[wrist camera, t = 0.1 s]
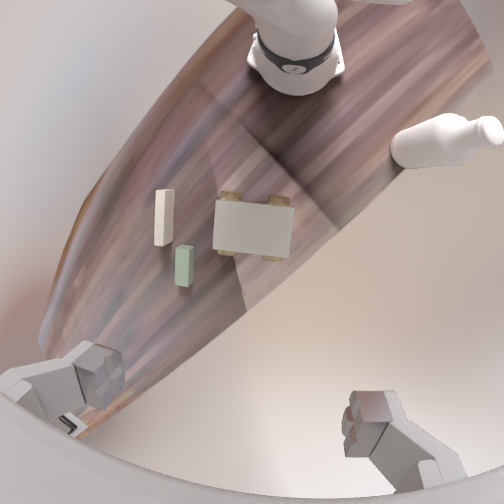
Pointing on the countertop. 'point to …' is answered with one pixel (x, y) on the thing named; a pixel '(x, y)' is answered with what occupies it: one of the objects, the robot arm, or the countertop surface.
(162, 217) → the block
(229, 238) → the stone slab
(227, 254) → the rail
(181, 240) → the countertop surface
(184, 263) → the block
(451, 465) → the robot arm
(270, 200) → the rail
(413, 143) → the bottle
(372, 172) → the countertop surface
